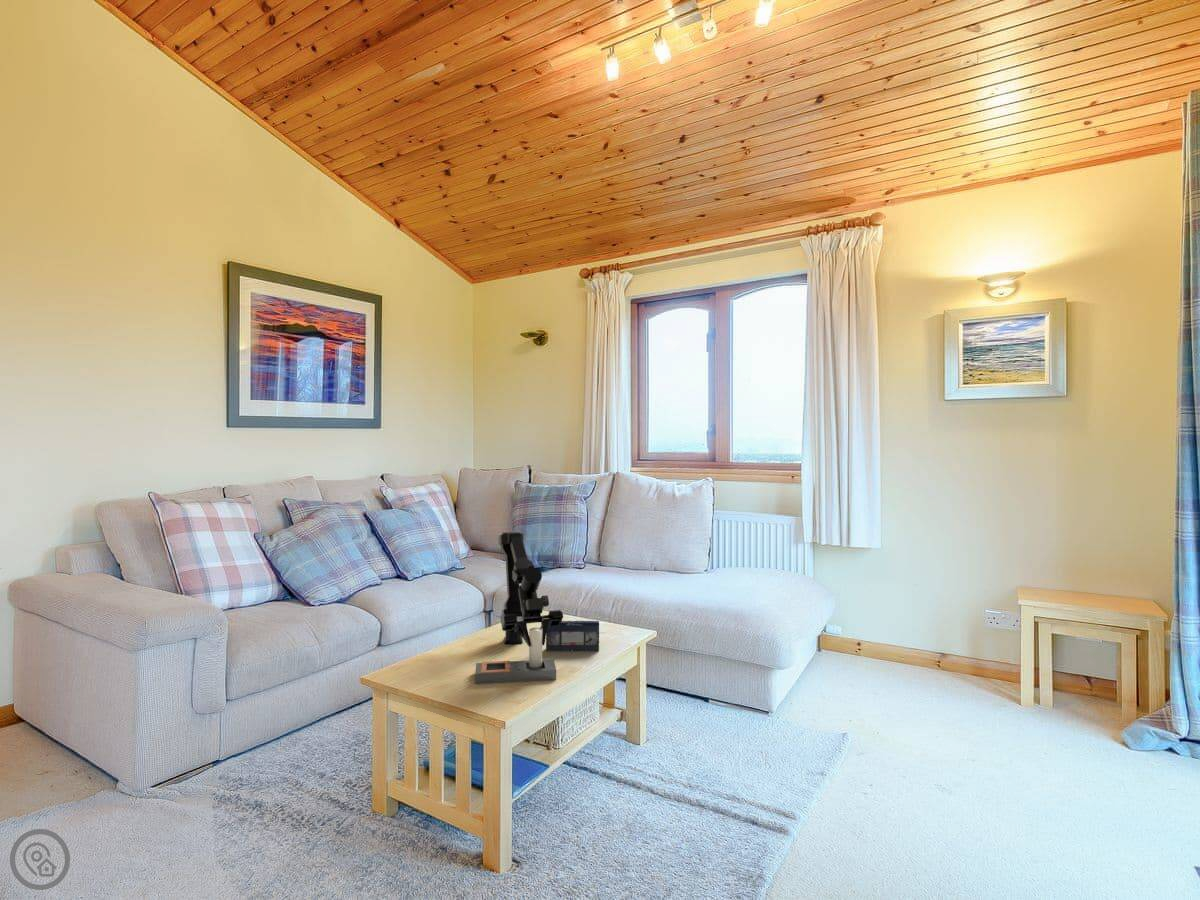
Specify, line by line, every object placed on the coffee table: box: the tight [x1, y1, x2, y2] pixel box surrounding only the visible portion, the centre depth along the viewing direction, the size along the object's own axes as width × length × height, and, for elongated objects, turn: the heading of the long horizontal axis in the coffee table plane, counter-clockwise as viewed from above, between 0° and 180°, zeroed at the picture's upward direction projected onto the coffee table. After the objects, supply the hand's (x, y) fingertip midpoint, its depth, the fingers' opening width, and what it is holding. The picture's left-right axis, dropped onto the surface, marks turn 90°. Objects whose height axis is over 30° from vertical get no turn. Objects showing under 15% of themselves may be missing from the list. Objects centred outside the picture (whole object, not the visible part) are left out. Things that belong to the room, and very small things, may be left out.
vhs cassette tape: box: [545, 620, 600, 652], centre depth 209 cm, size 18×3×10 cm, turn 91°
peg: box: [528, 627, 543, 668], centre depth 186 cm, size 4×4×11 cm
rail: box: [474, 658, 557, 685], centre depth 186 cm, size 9×24×3 cm, turn 99°
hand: (536, 645), depth 185 cm, fingers closed on peg, 4 cm apart
